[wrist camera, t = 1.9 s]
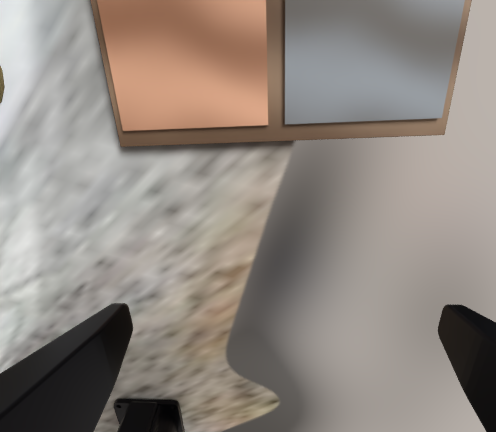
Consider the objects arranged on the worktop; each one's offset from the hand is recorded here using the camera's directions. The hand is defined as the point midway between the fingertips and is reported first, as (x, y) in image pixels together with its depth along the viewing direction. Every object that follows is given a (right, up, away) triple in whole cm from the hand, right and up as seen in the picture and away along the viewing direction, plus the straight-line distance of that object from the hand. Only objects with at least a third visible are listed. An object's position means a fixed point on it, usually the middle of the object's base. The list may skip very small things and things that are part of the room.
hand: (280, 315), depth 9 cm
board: (+1, +13, +8) cm, 16 cm away
